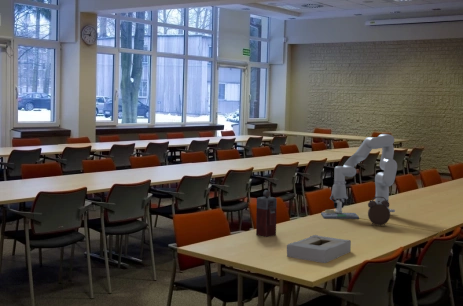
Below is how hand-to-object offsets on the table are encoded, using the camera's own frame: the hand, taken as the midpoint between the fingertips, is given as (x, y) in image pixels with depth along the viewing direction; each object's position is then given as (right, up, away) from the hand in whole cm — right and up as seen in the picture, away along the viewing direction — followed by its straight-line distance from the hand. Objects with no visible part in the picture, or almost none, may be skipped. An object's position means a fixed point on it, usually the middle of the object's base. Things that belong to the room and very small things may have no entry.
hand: (338, 207), depth 454 cm
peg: (-4, -4, -1) cm, 6 cm away
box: (-31, -16, -117) cm, 123 cm away
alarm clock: (+20, -9, -38) cm, 44 cm away
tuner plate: (0, -6, -5) cm, 8 cm away
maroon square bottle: (-57, -11, -70) cm, 91 cm away
